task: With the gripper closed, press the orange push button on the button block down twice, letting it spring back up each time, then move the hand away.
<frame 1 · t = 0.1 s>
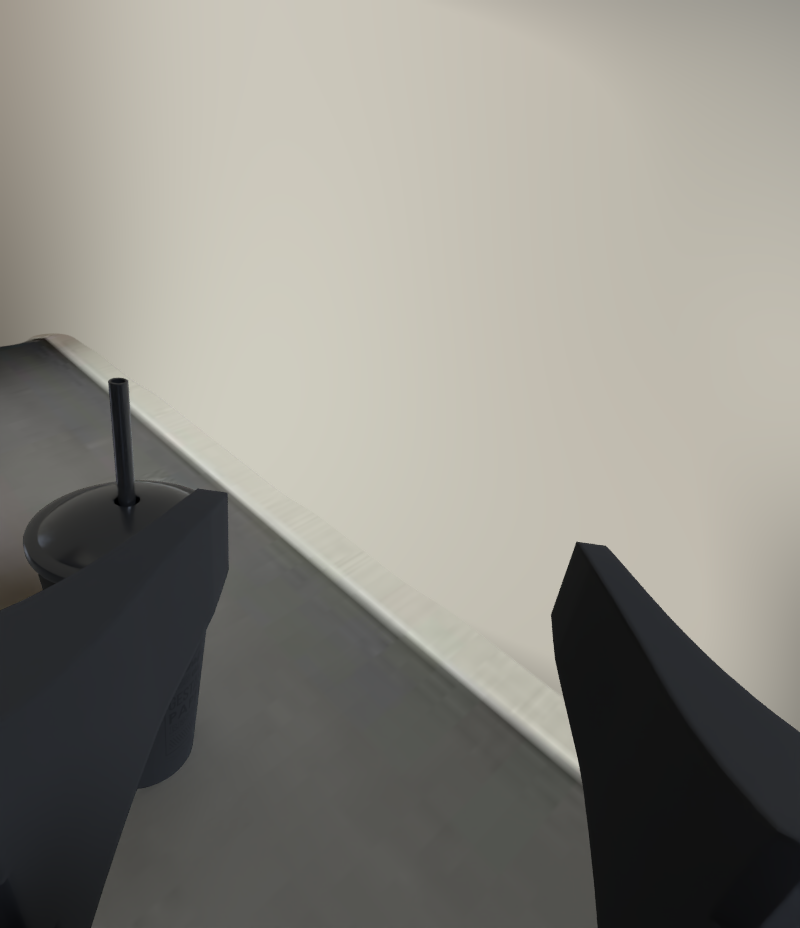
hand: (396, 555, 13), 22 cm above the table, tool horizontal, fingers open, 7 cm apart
drinking cup: (144, 749, 32), on the table
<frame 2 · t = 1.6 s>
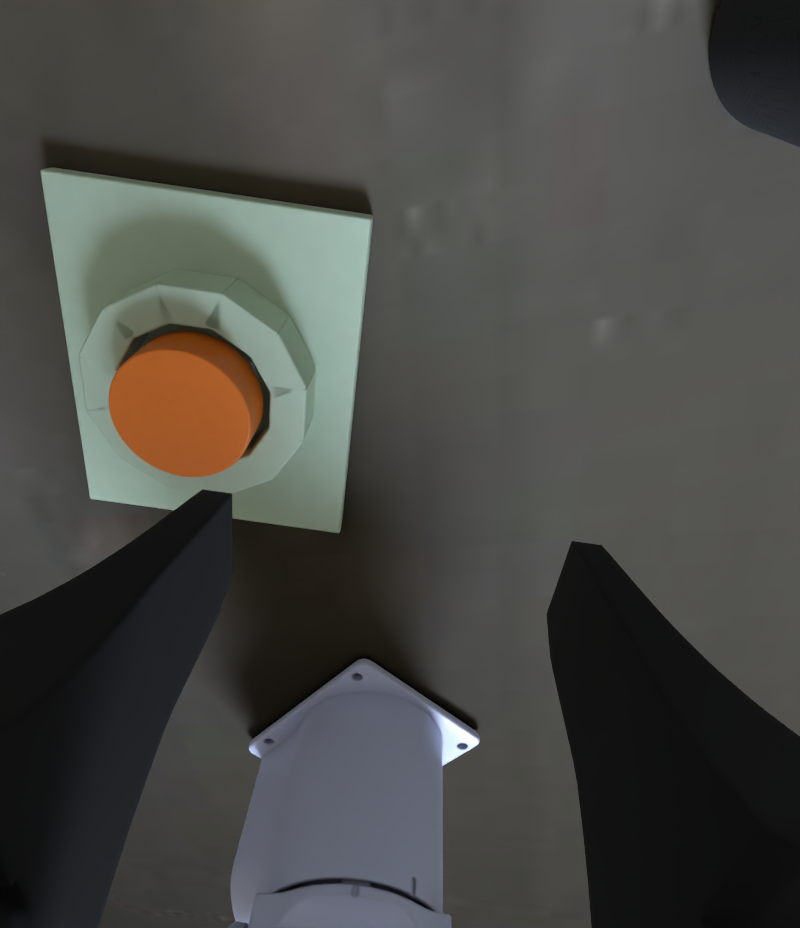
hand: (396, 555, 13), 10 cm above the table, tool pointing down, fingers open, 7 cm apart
button block: (217, 370, 22), on the table
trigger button: (188, 405, 20), point 3 cm above the table, slide at 0.1 cm
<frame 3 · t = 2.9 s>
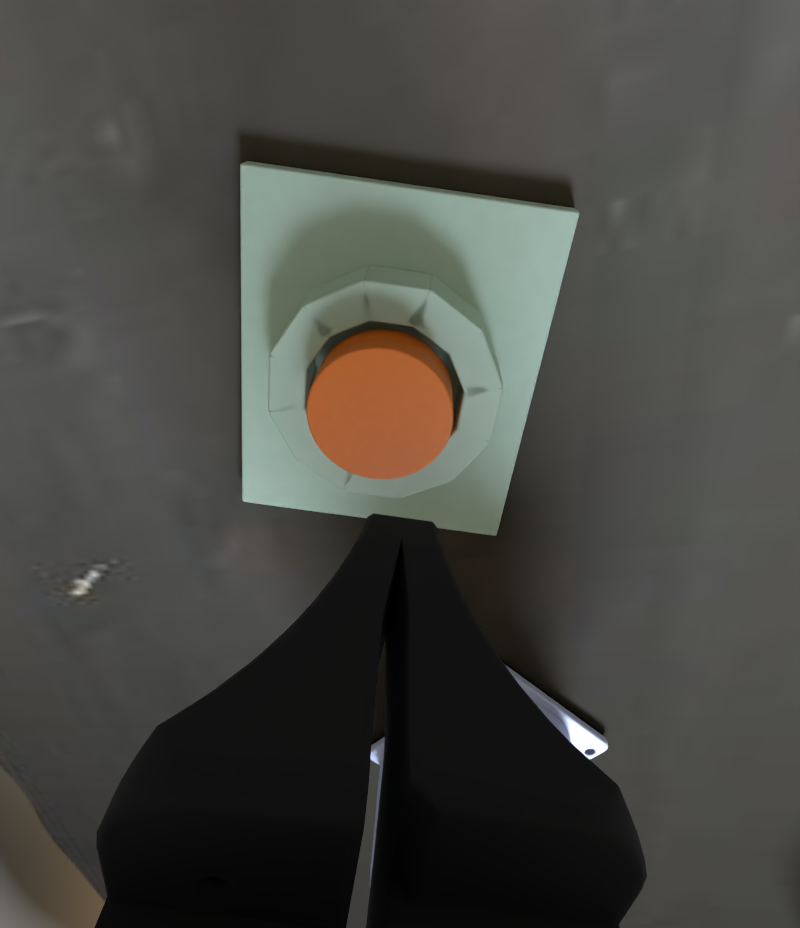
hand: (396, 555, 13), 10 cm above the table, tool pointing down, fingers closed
button block: (388, 369, 22), on the table
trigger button: (381, 405, 19), point 3 cm above the table, slide at 0.1 cm
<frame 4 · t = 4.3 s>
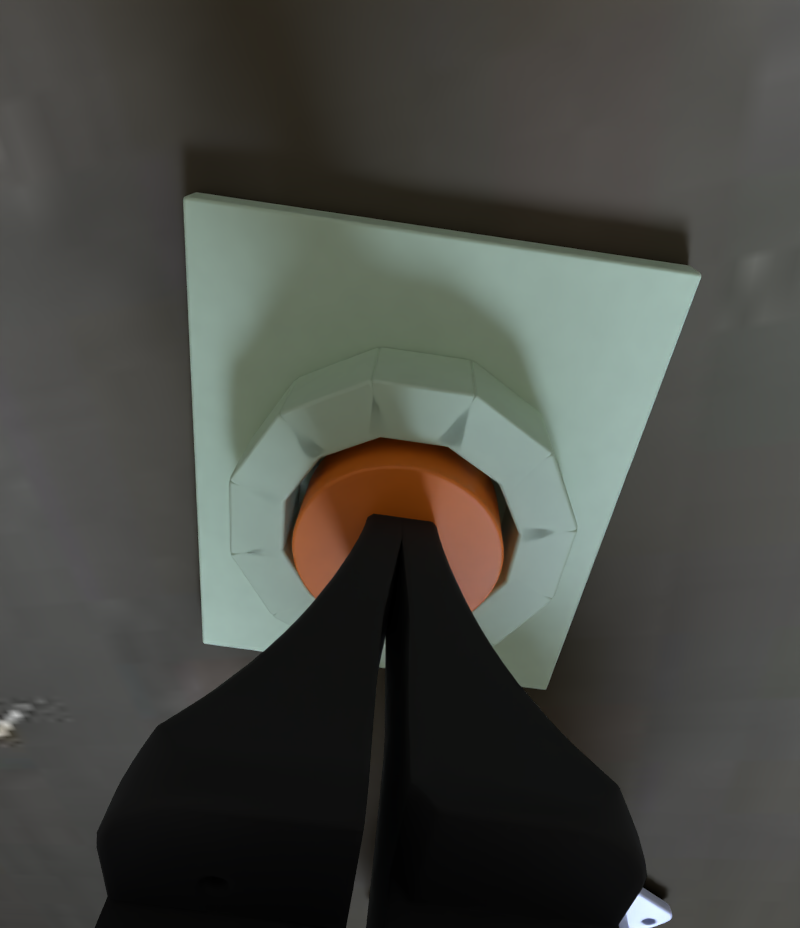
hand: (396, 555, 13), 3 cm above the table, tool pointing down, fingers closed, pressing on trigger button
button block: (404, 480, 15), on the table
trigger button: (399, 533, 14), point 2 cm above the table, slide at -0.7 cm, touching gripper
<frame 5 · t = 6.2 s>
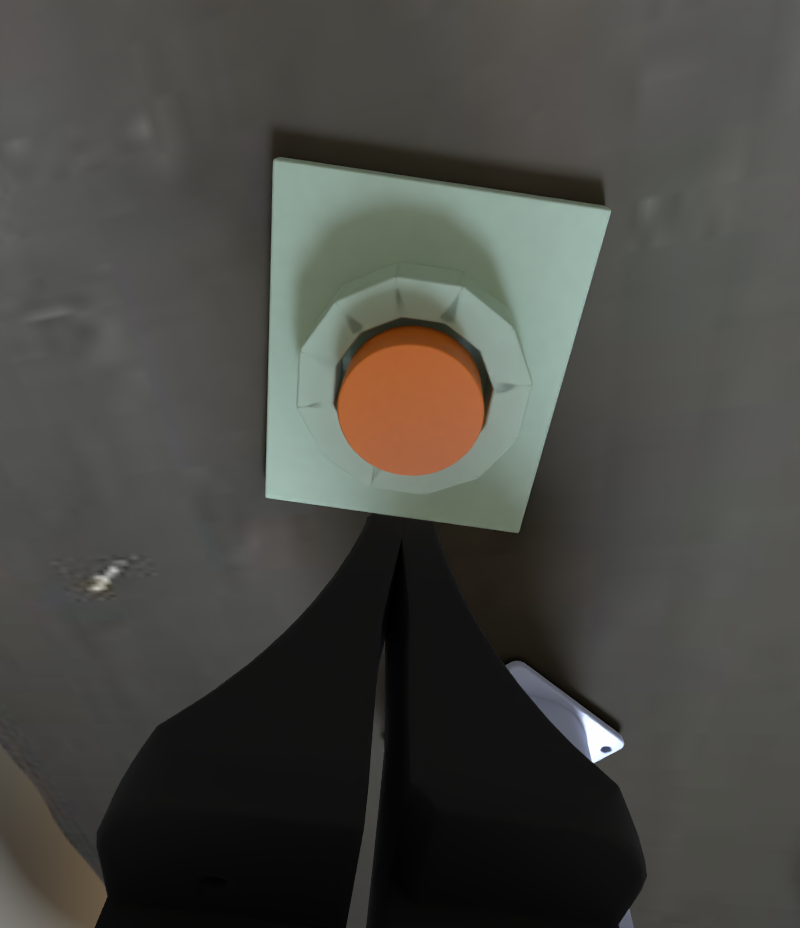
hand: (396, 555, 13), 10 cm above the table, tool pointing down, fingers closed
button block: (414, 366, 22), on the table
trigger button: (411, 402, 19), point 3 cm above the table, slide at 0.1 cm
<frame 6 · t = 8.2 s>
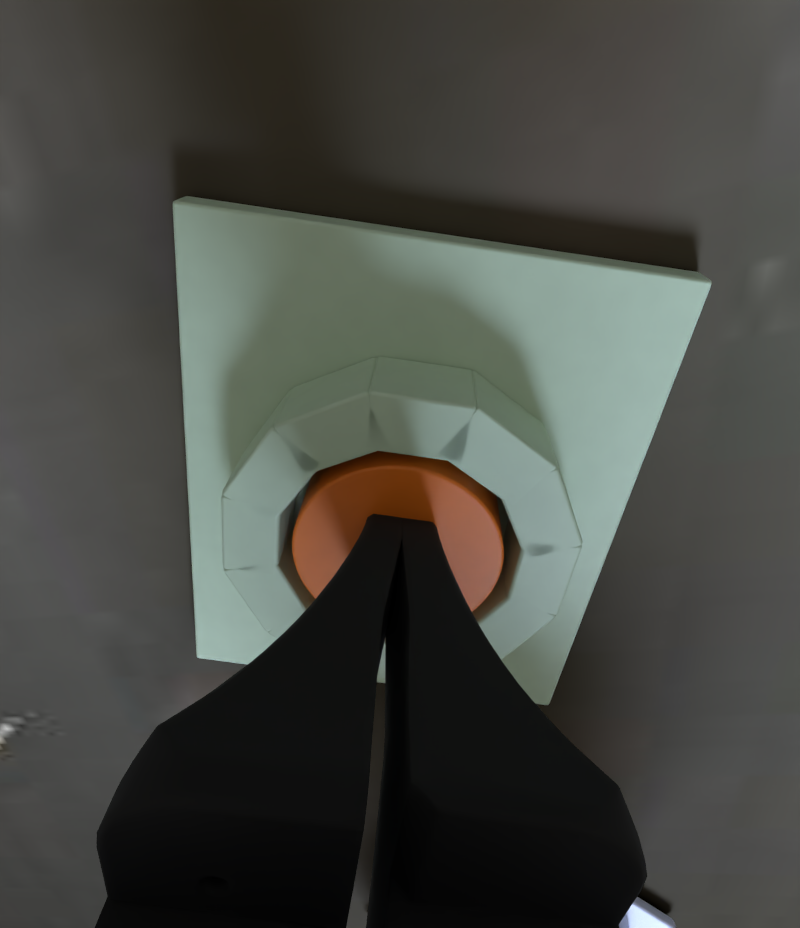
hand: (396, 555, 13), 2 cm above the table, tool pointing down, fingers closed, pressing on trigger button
button block: (403, 492, 15), on the table
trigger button: (399, 533, 14), point 2 cm above the table, slide at -1.2 cm, touching gripper
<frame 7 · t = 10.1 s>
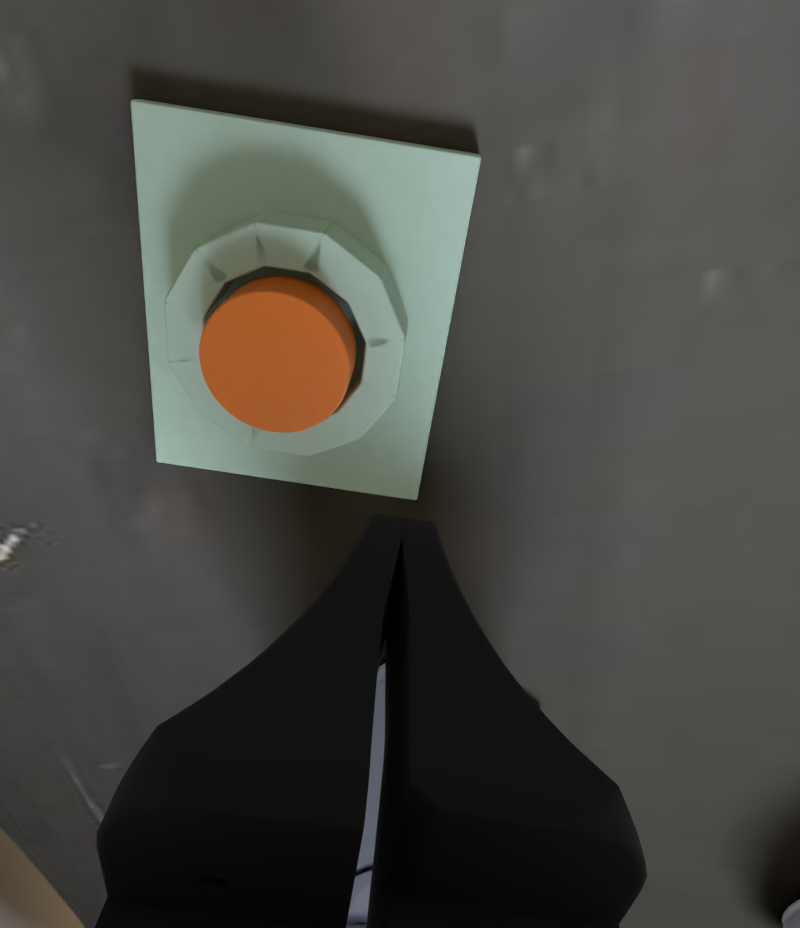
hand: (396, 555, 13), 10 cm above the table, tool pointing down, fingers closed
button block: (299, 324, 21), on the table
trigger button: (280, 356, 19), point 3 cm above the table, slide at 0.1 cm
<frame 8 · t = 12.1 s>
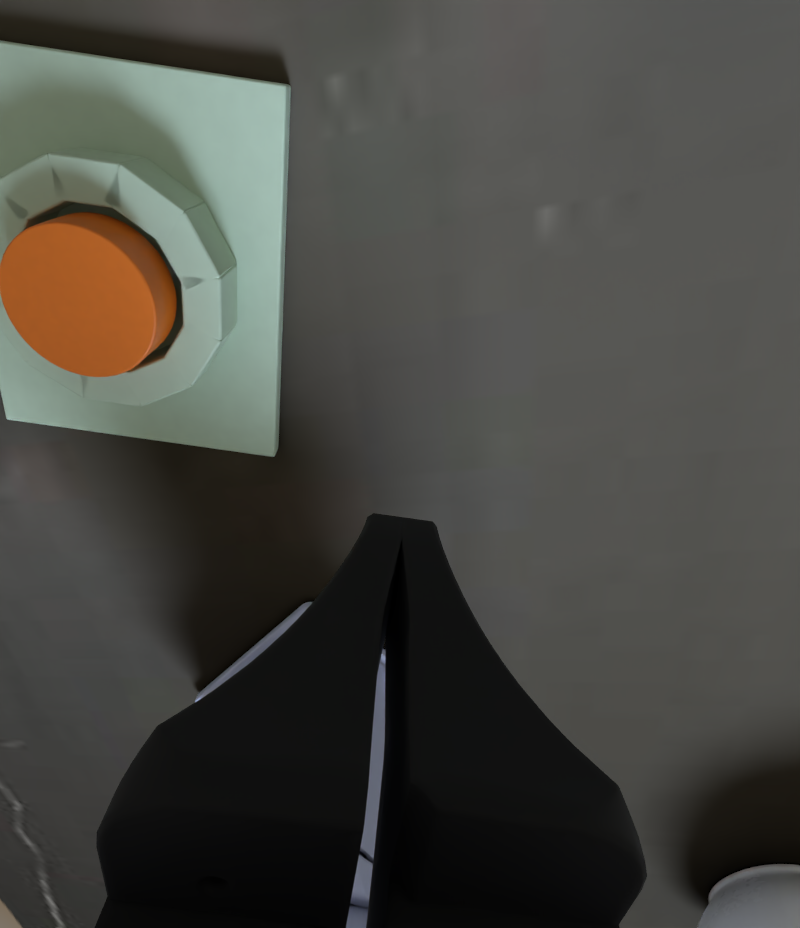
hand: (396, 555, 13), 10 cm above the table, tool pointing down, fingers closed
button block: (134, 271, 21), on the table
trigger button: (91, 296, 18), point 3 cm above the table, slide at 0.1 cm
lidded bowl: (768, 891, 38), on the table
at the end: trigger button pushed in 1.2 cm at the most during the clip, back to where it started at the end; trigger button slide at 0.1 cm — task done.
